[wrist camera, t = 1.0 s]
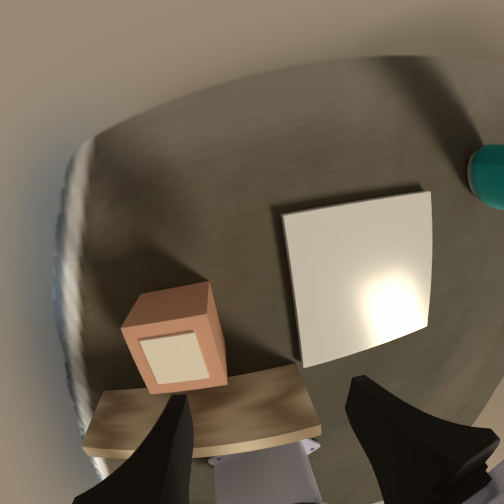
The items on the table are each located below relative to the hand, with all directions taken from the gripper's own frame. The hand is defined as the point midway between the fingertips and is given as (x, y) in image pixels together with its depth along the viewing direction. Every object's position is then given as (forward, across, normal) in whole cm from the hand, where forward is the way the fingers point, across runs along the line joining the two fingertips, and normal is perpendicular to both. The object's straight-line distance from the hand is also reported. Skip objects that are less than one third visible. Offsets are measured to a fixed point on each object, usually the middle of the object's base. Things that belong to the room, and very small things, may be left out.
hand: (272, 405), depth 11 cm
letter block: (+10, +5, 0) cm, 11 cm away
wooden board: (+10, +5, +7) cm, 13 cm away
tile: (+10, -9, -2) cm, 13 cm away
